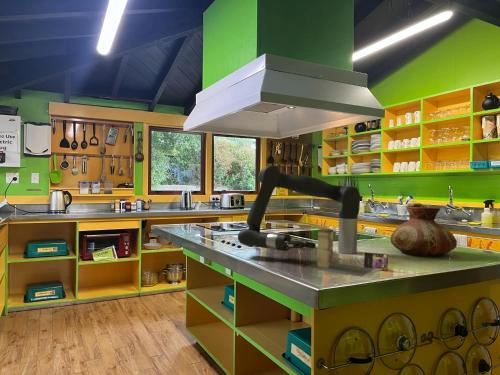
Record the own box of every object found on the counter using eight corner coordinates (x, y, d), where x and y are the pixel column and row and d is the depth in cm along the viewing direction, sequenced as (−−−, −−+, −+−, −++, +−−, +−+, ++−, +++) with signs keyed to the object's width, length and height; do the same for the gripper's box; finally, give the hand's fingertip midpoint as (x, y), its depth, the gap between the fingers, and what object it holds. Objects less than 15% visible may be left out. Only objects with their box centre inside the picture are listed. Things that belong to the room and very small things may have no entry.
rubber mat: (319, 262, 163) (319, 261, 163) (374, 270, 150) (374, 268, 150) (303, 269, 150) (303, 267, 150) (361, 278, 137) (361, 276, 137)
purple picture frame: (364, 252, 153) (387, 253, 150) (365, 254, 158) (388, 256, 154) (363, 268, 151) (387, 271, 148) (364, 270, 156) (387, 272, 152)
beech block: (323, 264, 157) (324, 228, 157) (332, 265, 154) (333, 229, 154) (317, 266, 152) (318, 229, 152) (326, 268, 150) (327, 230, 149)
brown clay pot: (470, 257, 179) (471, 205, 179) (419, 261, 170) (420, 205, 170) (423, 247, 208) (424, 202, 208) (377, 249, 199) (378, 202, 198)
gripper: (271, 234, 160) (308, 238, 150) (286, 231, 171) (321, 235, 161) (270, 252, 160) (307, 257, 150) (286, 248, 171) (321, 252, 161)
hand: (315, 245), depth 156 cm, fingers closed
